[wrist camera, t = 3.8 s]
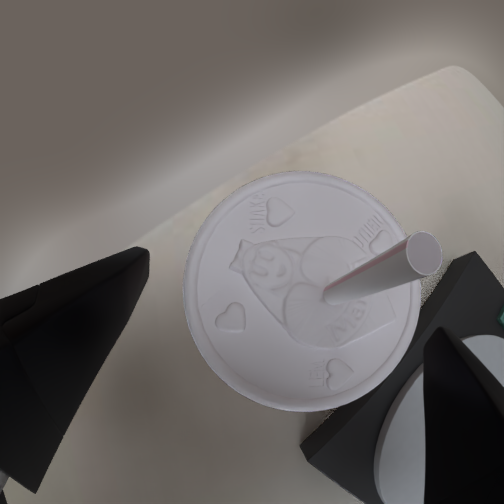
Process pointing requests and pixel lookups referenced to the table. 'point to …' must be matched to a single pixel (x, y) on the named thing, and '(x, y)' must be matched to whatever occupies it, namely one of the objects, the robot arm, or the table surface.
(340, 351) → the smoothie
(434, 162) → the table surface
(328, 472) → the scale
